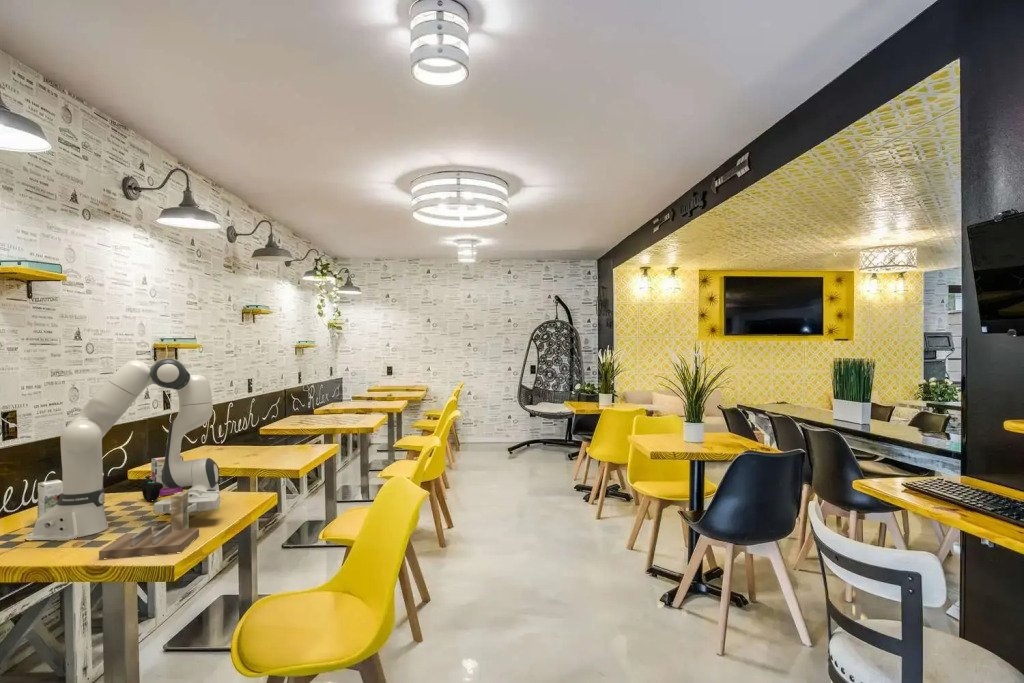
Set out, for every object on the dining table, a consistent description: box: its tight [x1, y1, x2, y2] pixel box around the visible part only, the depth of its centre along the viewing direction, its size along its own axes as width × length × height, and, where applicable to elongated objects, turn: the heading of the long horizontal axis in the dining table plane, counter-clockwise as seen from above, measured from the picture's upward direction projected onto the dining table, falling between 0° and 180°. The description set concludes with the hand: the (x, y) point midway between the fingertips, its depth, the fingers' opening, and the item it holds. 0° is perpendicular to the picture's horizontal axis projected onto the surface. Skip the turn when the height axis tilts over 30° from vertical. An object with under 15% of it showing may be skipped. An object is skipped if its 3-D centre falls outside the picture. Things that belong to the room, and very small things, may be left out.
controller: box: [140, 475, 163, 502], centre depth 227 cm, size 4×12×10 cm, turn 57°
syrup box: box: [37, 479, 63, 519], centre depth 203 cm, size 6×6×14 cm
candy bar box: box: [150, 455, 184, 497], centre depth 238 cm, size 11×5×16 cm, turn 144°
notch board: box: [98, 524, 200, 560], centre depth 172 cm, size 22×16×5 cm
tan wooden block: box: [170, 491, 190, 530], centre depth 187 cm, size 3×6×13 cm, turn 11°
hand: (178, 510), depth 186 cm, fingers closed on tan wooden block, 3 cm apart
